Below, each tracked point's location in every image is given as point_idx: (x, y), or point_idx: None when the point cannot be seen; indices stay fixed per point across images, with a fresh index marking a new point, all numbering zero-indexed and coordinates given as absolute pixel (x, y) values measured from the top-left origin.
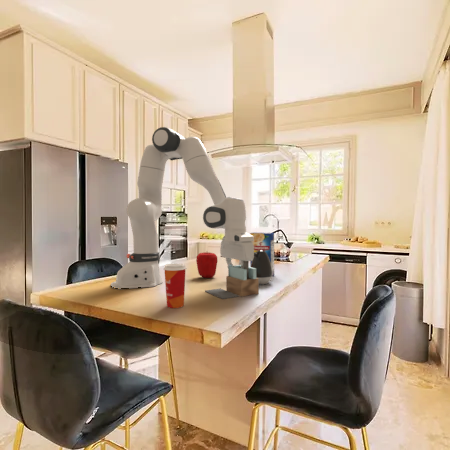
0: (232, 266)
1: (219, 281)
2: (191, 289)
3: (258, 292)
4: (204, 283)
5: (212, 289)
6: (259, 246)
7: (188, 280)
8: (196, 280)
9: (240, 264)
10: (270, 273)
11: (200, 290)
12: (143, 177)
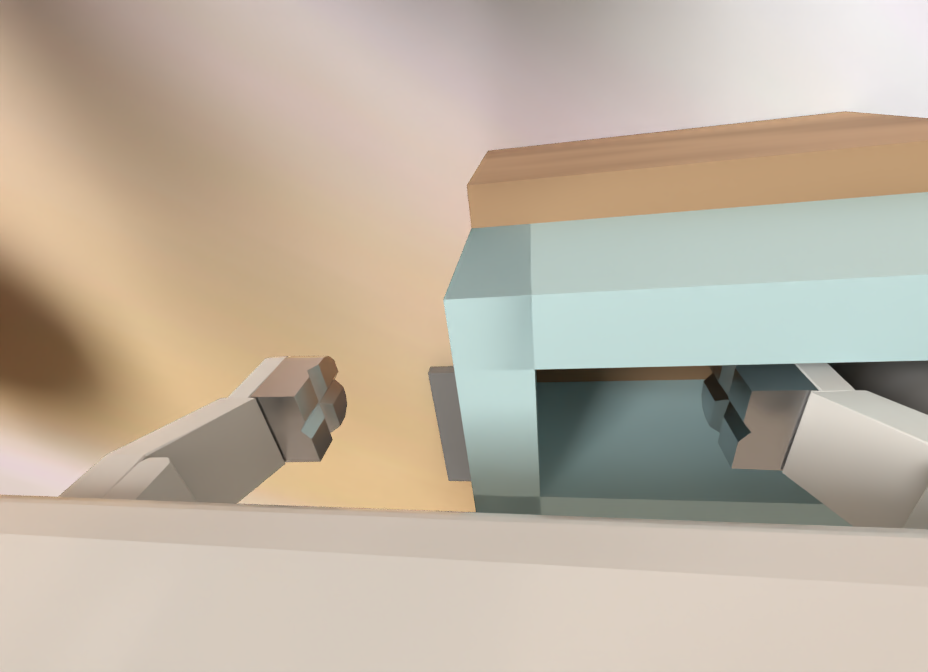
0: (540, 506)
1: (58, 213)
2: (343, 503)
3: (857, 114)
4: (150, 367)
5: (440, 433)
6: None
7: (23, 416)
8: (19, 371)
9: None
10: None
11: (394, 477)
12: None
